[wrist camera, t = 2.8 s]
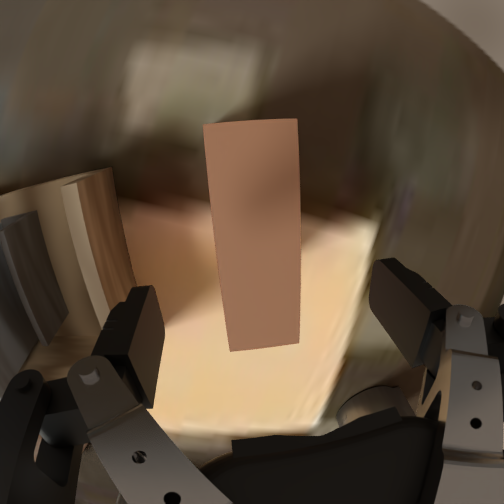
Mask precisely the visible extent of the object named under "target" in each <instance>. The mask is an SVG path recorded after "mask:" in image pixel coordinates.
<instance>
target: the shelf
mask: <svg viewBox="0 0 504 504" xmlns="http://www.w3.org/2000/svg"><path fill="white" fill-rule="evenodd" d="M132 287H137V286H136V282H135V278H134V274H133V270H132V266H131V262H130V258H129V254H128V250H127V245H126V241H125V236H124V232H123V227H122V222H121V217H120V212H119V206H118V201H117V195H116V189H115V183H114V177H113V171H112V167H109V168H104V169H99V170H94V171H90V172H85V173H81V174H76V175H72V176H68V177H63V178H59V179H55V180H51V181H47V182H44V183H40V184H36V185H33V186H29V187H26V188H22V189H19V190H15V191H12V192H9V193H5V194H2V195H0V401H1V399H2V397H3V394H4V392H5V390H6V388H7V386H8V384H9V382H10V381H11V379H12V378H13V377H14V376H15V375H17V374H18V373H20V372H22V371H24V370H28V369H34V370H37V371H39V372H40V373H41V374H42V376H43V377H44V379H45V381H51V380H55V379H60V378H64V377H67V374H68V371H69V369H70V368H71V367H72V365H73V364H75V363H76V362H77V361H78V360H80V359H82V358H85V357H88V356H90V355H91V353H92V351H93V348H94V346H95V344H96V341H97V339H98V337H99V335H100V332H101V330H103V326H104V324H105V322H106V319H107V317H108V315H109V313H110V311H111V310H112V309H113V308H114V307H115V306H116V305H117V304H118V303H119V302H125V301H126V299H127V296H128V294H129V292H130V290H131V288H132Z"/></svg>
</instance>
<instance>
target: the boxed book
mask: <svg viewBox="0 0 504 504" xmlns="http://www.w3.org/2000/svg"><path fill="white" fill-rule="evenodd" d="M203 131H204V143H205V154H206V164H207V174H208V184H209V194H210V203H211V212H212V221H213V230H214V238H215V246H216V255H217V263H218V270H219V278H220V286H221V293H222V301H223V308H224V315H225V322H226V329H227V336H228V342H229V349H230V352H232V351H242V350H251V349H259V348H267V347H275V346H282V345H289V344H296V343H299V334H300V293H301V211H300V170H299V144H298V123H297V119H266V120H248V121H234V122H222V123H212V124H203Z"/></svg>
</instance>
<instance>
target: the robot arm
mask: <svg viewBox="0 0 504 504" xmlns="http://www.w3.org/2000/svg"><path fill="white" fill-rule="evenodd" d="M369 304H370V308H371V310H372V312H373V314H374V315H375V316H376V318H377V319H378V320H379V322H380V323H381V325H382V326H383V327H384V329H385V330H386V332H387V333H388V334H389V336H390V337H391V339H392V340H393V341H394V343H395V344H396V346H397V347H398V348H399V350H400V351H401V353H402V354H403V356H404V357H405V359H406V360H407V362H408V363H409V364H410V366H411V367H412V368H414V367H417V366H420V365H423V364H425V365H426V369H425V371H424V374H423V381H422V386H421V392H420V397H419V402H418V407H417V412H416V415H415V413H414V411H413V409H412V408H411V406H410V404H409V402H408V401H407V399H406V397H405V396H404V394H403V392H402V391H401V389H400V387H395V388H391V387H388V386H380V387H374V388H371V389H368V390H365V391H363V392H361V393H359V394H357V395H356V396H354V397H352V398H351V399H350V400H348V401H347V402H346V403H345V404H344V405H343V406H342V407H341V408H340V410H339V411H338V414H337V421H338V424H339V428H338V429H336V430H334V431H332V432H329V433H327V434H325V435H322V436H284V435H272V436H265V437H257V438H249V439H239V440H232V452H229V453H226V454H223V455H221V456H218V457H216V458H214V459H212V460H210V461H208V462H207V463H205V464H204V465H202V466H201V467H199V468H198V469H197V468H196V467H195V466H194V465H193V464H192V463H191V461H190V460H189V459H188V458H187V457H186V456H185V455H184V454H183V453H182V452H181V451H180V449H179V448H178V447H177V446H176V445H175V444H174V443H173V441H172V440H171V439H170V438H169V437H168V436H167V434H166V433H165V432H164V431H163V430H162V428H161V427H160V426H159V425H158V424H157V422H156V421H155V420H154V419H153V417H152V416H151V415H150V413H149V412H148V411H147V410H146V409H153V405H154V398H155V391H156V385H157V379H158V373H159V367H160V361H161V355H162V350H163V344H164V339H165V328H164V322H163V318H162V315H161V311H160V307H159V303H158V300H157V296H156V292H155V289H154V287H153V286H152V285H150V286H139V287H132V288H131V290H130V292H129V294H128V296H127V299H126V301H125V302H119V303H118V304H117V305H116V306H115V307H114V308H113V309H112V310H111V311H110V313H109V315H108V317H107V319H106V322H105V324H104V326H103V330H101V332H100V335H99V337H98V339H97V341H96V344H95V346H94V348H93V351H92V353H91V355H90V356H88V357H85V358H82V359H80V360H78V361H77V362H76V363H75V364H73V365H72V367H71V368H70V369H69V371H68V374H67V377H64V378H60V379H55V380H51V381H45V379H44V377H43V376H42V374H41V373H40V372H39V371H37V370H34V369H28V370H24V371H22V372H20V373H18V374H17V375H15V376H14V377H13V378H12V379H11V381H10V382H9V384H8V386H7V388H6V390H5V392H4V394H3V397H2V399H1V401H0V504H75V496H76V488H77V481H78V475H79V468H80V462H81V456H82V451H83V446H84V444H86V443H91V444H92V445H93V447H94V449H95V451H96V453H97V455H98V457H99V458H100V460H101V462H102V464H103V465H104V467H105V469H106V471H107V472H108V474H109V476H110V477H111V479H112V481H113V482H114V484H115V485H116V487H117V488H118V490H119V492H120V493H121V495H122V496H123V498H124V499H125V501H126V502H127V503H128V504H504V450H503V449H502V448H503V422H504V304H502V305H501V306H500V307H499V309H498V311H497V314H496V317H491V318H483V317H482V315H481V314H480V313H479V312H478V311H477V310H475V309H474V308H472V307H469V306H466V305H459V304H458V305H451V304H450V303H449V302H448V301H447V300H446V299H445V298H444V297H443V296H442V295H441V294H440V293H439V292H437V291H436V290H435V289H434V288H432V286H431V285H430V284H429V283H428V282H426V281H425V280H424V279H423V278H422V277H421V276H420V275H419V274H417V273H415V272H413V271H411V270H409V269H407V268H406V267H405V266H404V265H402V264H401V263H400V262H399V261H398V260H397V259H395V258H387V259H380V260H376V261H375V262H374V264H373V270H372V278H371V285H370V292H369ZM39 435H40V436H41V437H42V439H41V443H40V446H39V450H38V454H37V457H36V461H35V460H34V451H35V447H36V443H37V440H38V436H39Z"/></svg>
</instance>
